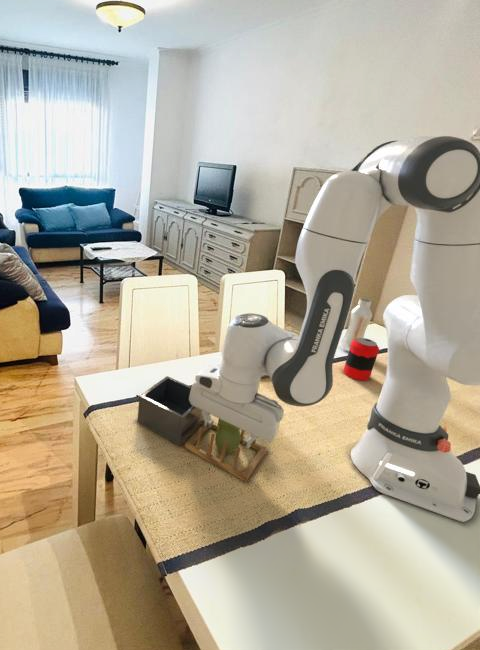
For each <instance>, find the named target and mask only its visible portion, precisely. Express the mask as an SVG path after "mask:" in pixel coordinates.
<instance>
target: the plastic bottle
mask: <svg viewBox="0 0 480 650" xmlns="http://www.w3.org/2000/svg"><path fill="white" fill-rule="evenodd" d="M371 304H372V300H371V299H368V298H364V297H363V298H362V297H360V298H359V299H358V302H357V305H356V306H355V307H354V308H352V309H351V311H350V314H349V322H348V326H347V329H346V332H345V334H344V336H343V338H342V340H341V343H340V346H341V349H342V350H344V351H346V352H349V350H350V346H351V343H352V341H354V340H356V339H357V338H365V337H364V336H365V333H366V330H367V328H368V326H369V323H370V322H371V320H372V317H373V313H372V310H371V308H370V307H371V306H372V305H371Z"/></svg>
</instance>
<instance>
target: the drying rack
mask: <svg viewBox="0 0 480 650" xmlns="http://www.w3.org/2000/svg"><path fill="white" fill-rule="evenodd" d="M219 421H220V419H219V418H218V420H217V422H216V421H214V423H213V427H211V429H214V430H215V431H217V429H218V427H219V426H220V423H219ZM204 425H205V423H204V424H203V425H202V426H201V427H198V430H196V432H195V433H194V434H193V435H192V436H191V437H189V439H188V440H187V442H185V444H184V448H185V449H186V450H188V451H190V452H192V453H193V454H195V455H197V456H199V457H200V458H203V459H204V460H206V461H208V462H210V463H211V464H213V465H215V466H217V467H219V468H220V469H222V470H224V471H226V472H228V473H229V474H231V475H233V476H234V477H236V478H238V479H239V480H241V481H244V482H248V480H249V478H250V477H251V475H252V474H253V472H254V470H255V469H256V468H257V466H258V465H259V463H260V462H261V460H262V459H263V457H264V456H265V454H266V453H267V449H268V448H267V447H266V446H264V445H262V444H260V443H258V442H257V439H256V440H254V441H253V442H252V444H251V446H250V448H251V449H254V450H256V451H257V454H256V455H255V456H254V458H253V459H252V461H251V462H250V463H249V465H248V466H247V468H246V470H244V471H242V470H240V469H238V468H237V467H238V463H239V457H240V452H241V450H242V449H241V446H238V447H237V449H236V451H235V454H234V455H235V456H234V461H233V465H231V464H229V463H227V462H226V461H224V460H225V456H226V453H225V451H226V446H227V440H224V443H223V449H222V451H221V453H220V458H219V457H216V456H215V455H212V452H213V447H214V442H215V433H211V434H210V439H209V447H208V451H205V450H204V449H201V448H200V446H201V441H202V436H203V435H204V434H205V433H206V432H207V431H208V430H210V429H209V428H207V427H205V426H204ZM240 433H241V440H240V443H242V444H243V440H244V439H245V437H246V436H244V435H245V431H244V430H242V429H240ZM194 444H196V445H194Z"/></svg>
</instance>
